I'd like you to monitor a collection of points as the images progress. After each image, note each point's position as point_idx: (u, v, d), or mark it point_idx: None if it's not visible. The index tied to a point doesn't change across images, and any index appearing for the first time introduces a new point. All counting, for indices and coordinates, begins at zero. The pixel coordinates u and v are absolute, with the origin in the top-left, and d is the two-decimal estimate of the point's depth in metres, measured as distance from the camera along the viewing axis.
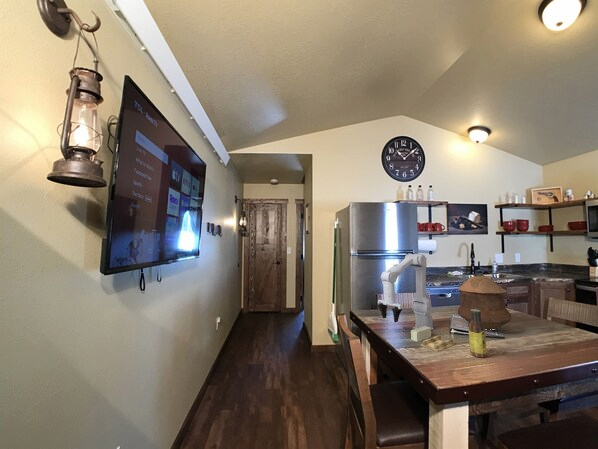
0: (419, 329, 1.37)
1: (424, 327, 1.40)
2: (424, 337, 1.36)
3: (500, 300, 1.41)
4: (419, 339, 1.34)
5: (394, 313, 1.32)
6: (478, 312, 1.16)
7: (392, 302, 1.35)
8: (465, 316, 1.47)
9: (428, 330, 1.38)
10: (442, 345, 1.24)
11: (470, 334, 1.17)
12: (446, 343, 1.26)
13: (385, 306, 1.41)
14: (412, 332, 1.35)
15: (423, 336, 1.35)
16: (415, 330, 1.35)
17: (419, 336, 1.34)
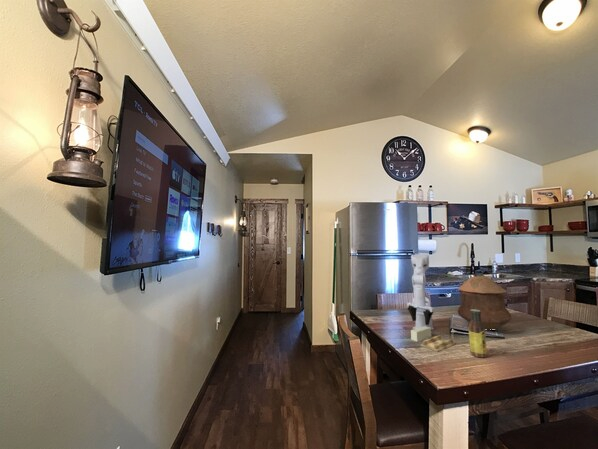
0: (419, 329, 1.37)
1: (424, 327, 1.40)
2: (424, 337, 1.36)
3: (500, 300, 1.41)
4: (419, 339, 1.34)
5: (426, 316, 1.33)
6: (478, 312, 1.16)
7: (423, 305, 1.35)
8: (465, 316, 1.47)
9: (428, 330, 1.38)
10: (442, 345, 1.24)
11: (470, 334, 1.17)
12: (446, 343, 1.26)
13: (415, 309, 1.42)
14: (412, 332, 1.35)
15: (423, 336, 1.35)
16: (415, 330, 1.35)
17: (419, 336, 1.34)
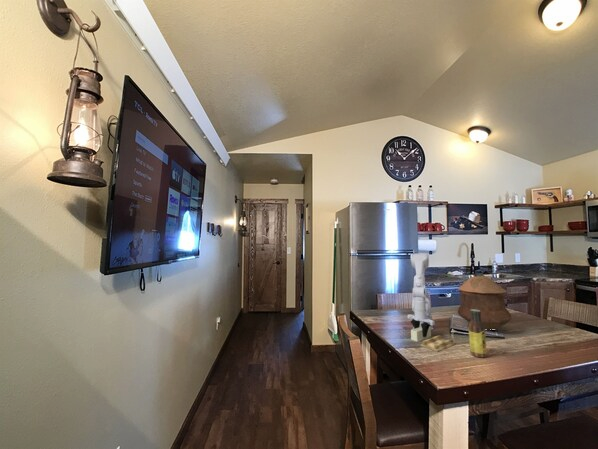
0: (419, 328, 1.37)
1: None
2: (424, 337, 1.36)
3: (500, 300, 1.41)
4: (419, 339, 1.34)
5: (423, 328, 1.34)
6: (478, 312, 1.16)
7: (424, 318, 1.35)
8: (465, 316, 1.47)
9: (428, 330, 1.38)
10: (442, 345, 1.24)
11: (470, 334, 1.17)
12: (446, 343, 1.26)
13: (418, 322, 1.40)
14: (412, 332, 1.35)
15: None
16: (415, 330, 1.35)
17: (419, 336, 1.34)
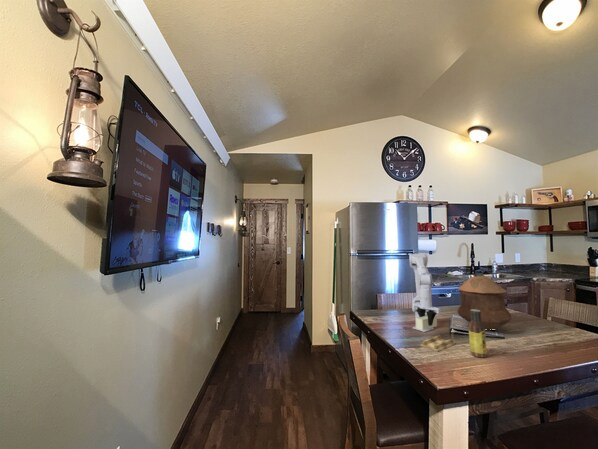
0: (424, 317, 1.34)
1: None
2: None
3: (500, 300, 1.41)
4: (425, 327, 1.30)
5: (429, 316, 1.31)
6: (478, 312, 1.16)
7: (429, 306, 1.32)
8: (465, 316, 1.47)
9: (434, 318, 1.34)
10: (442, 345, 1.24)
11: (470, 334, 1.17)
12: (446, 343, 1.26)
13: (424, 311, 1.36)
14: (417, 320, 1.32)
15: None
16: (420, 318, 1.32)
17: (424, 324, 1.30)
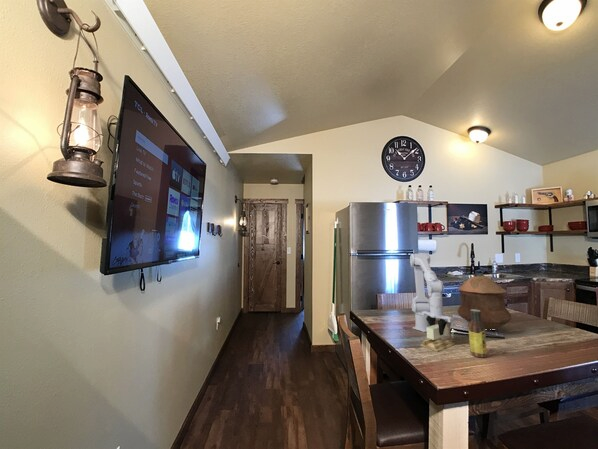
0: (435, 326, 1.28)
1: None
2: (441, 335, 1.27)
3: (500, 300, 1.41)
4: (435, 337, 1.24)
5: (440, 325, 1.25)
6: (478, 312, 1.16)
7: (440, 314, 1.26)
8: (465, 316, 1.47)
9: (445, 327, 1.29)
10: (442, 345, 1.24)
11: (470, 334, 1.17)
12: (446, 343, 1.26)
13: (434, 319, 1.31)
14: (428, 329, 1.26)
15: None
16: (431, 327, 1.26)
17: (435, 333, 1.24)
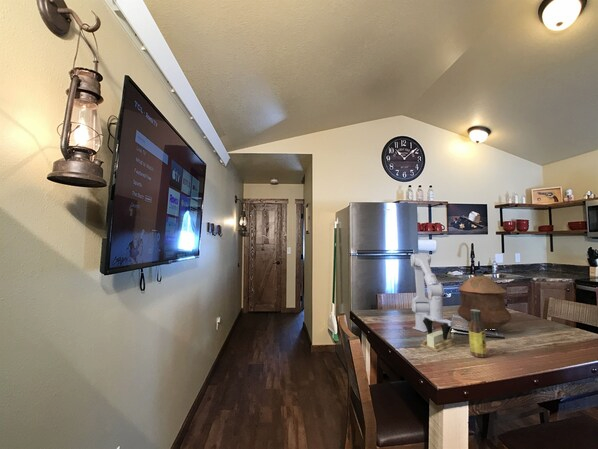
0: (435, 333, 1.28)
1: (440, 331, 1.30)
2: None
3: (500, 300, 1.41)
4: None
5: (443, 330, 1.23)
6: (478, 312, 1.16)
7: (440, 318, 1.26)
8: (465, 316, 1.47)
9: None
10: (442, 345, 1.24)
11: (470, 334, 1.17)
12: (446, 343, 1.26)
13: (431, 321, 1.32)
14: (428, 337, 1.26)
15: (440, 341, 1.26)
16: (431, 334, 1.26)
17: (436, 341, 1.24)
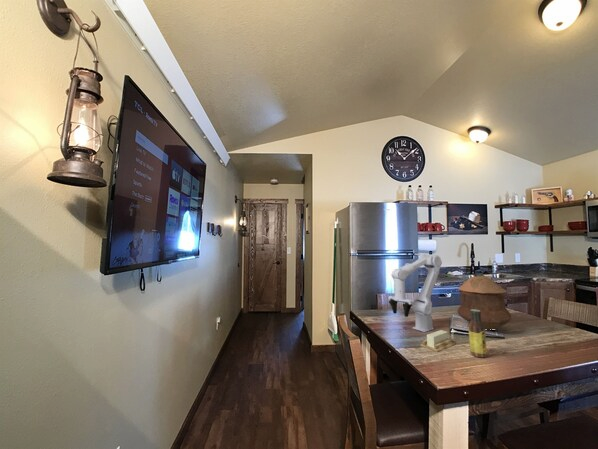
0: (435, 333, 1.28)
1: (440, 331, 1.30)
2: None
3: (500, 300, 1.41)
4: None
5: (405, 308, 1.41)
6: (478, 312, 1.16)
7: (403, 298, 1.44)
8: (465, 316, 1.47)
9: (445, 334, 1.28)
10: (442, 345, 1.24)
11: (470, 334, 1.17)
12: (446, 343, 1.26)
13: (395, 302, 1.50)
14: (428, 337, 1.26)
15: (440, 341, 1.26)
16: (431, 334, 1.26)
17: (436, 341, 1.24)
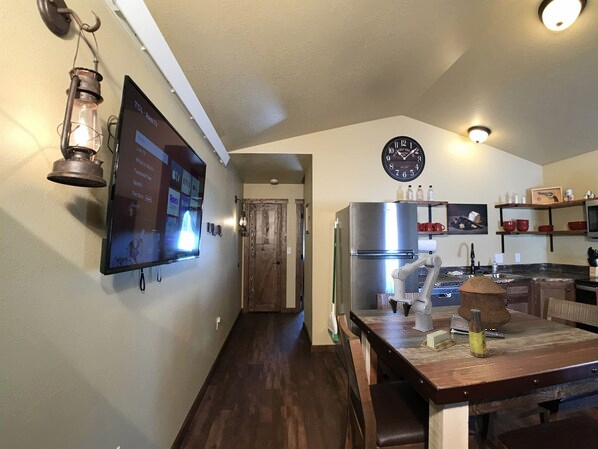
0: (435, 333, 1.28)
1: (440, 331, 1.30)
2: None
3: (500, 300, 1.41)
4: None
5: (404, 308, 1.41)
6: (478, 312, 1.16)
7: (402, 298, 1.44)
8: (465, 316, 1.47)
9: (445, 334, 1.28)
10: (442, 345, 1.24)
11: (470, 334, 1.17)
12: (446, 343, 1.26)
13: (395, 302, 1.50)
14: (428, 337, 1.26)
15: (440, 341, 1.26)
16: (431, 334, 1.26)
17: (436, 341, 1.24)
